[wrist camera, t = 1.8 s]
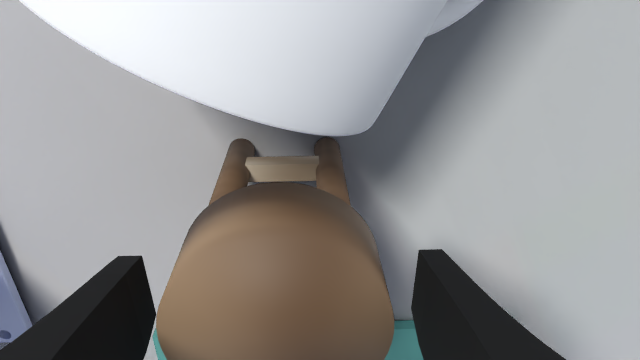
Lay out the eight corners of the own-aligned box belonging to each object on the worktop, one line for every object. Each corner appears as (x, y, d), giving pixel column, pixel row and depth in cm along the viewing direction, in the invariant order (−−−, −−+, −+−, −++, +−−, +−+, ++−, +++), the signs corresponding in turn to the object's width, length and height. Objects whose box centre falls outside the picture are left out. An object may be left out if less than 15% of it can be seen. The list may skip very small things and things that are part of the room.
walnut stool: (220, 247, 17) (176, 413, 11) (203, 118, 15) (133, 242, 9) (356, 244, 18) (386, 406, 11) (361, 116, 15) (404, 235, 9)
